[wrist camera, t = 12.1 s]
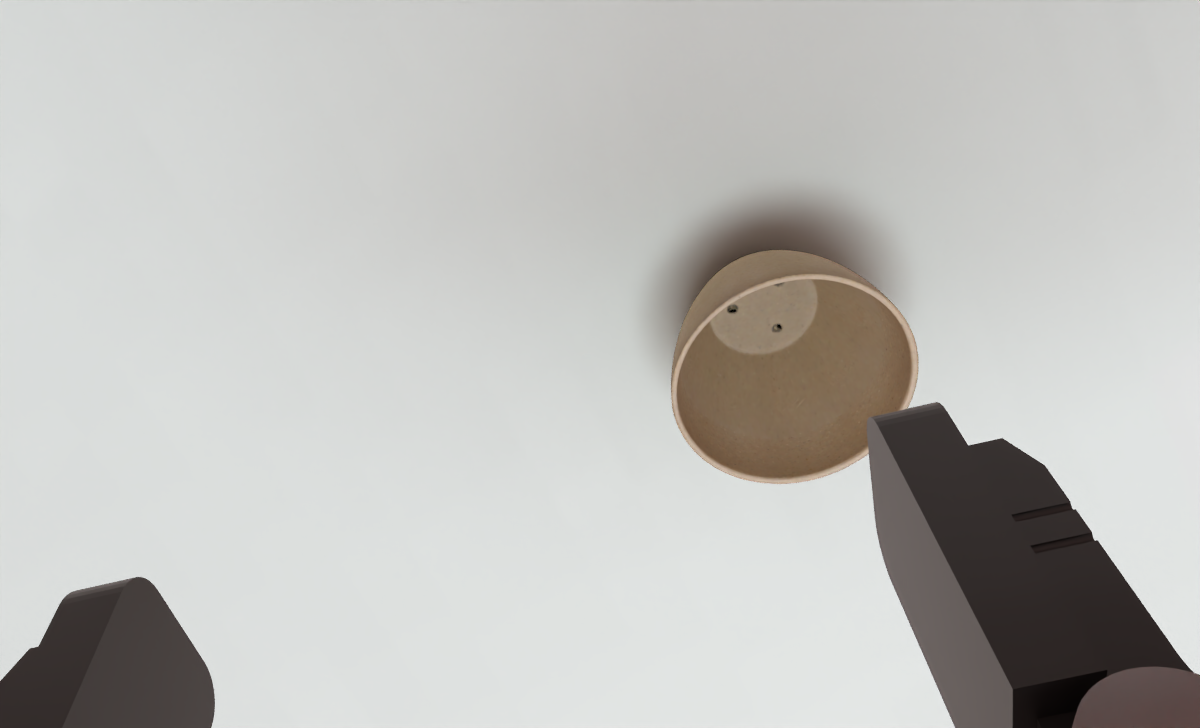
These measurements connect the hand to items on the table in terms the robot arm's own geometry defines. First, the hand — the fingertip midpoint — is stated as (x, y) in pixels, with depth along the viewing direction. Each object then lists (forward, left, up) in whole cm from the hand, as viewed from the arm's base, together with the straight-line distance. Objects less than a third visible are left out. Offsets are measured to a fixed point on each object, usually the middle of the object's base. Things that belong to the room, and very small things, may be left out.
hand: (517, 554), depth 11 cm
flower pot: (-7, +17, -32) cm, 37 cm away
